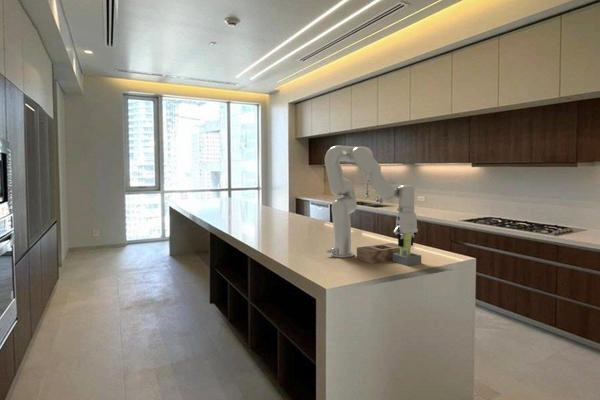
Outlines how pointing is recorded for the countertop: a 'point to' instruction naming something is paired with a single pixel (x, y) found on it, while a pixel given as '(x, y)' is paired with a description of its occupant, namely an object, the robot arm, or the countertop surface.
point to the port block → (377, 252)
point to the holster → (406, 259)
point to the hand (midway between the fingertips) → (405, 245)
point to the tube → (406, 245)
